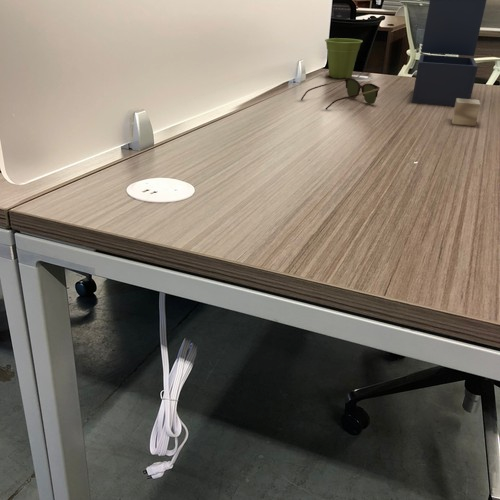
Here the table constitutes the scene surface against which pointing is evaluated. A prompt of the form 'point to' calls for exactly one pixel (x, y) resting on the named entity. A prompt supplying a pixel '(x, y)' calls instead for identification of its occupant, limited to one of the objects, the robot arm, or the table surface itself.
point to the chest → (444, 79)
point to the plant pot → (342, 56)
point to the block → (466, 112)
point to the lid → (453, 26)
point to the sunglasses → (355, 90)
